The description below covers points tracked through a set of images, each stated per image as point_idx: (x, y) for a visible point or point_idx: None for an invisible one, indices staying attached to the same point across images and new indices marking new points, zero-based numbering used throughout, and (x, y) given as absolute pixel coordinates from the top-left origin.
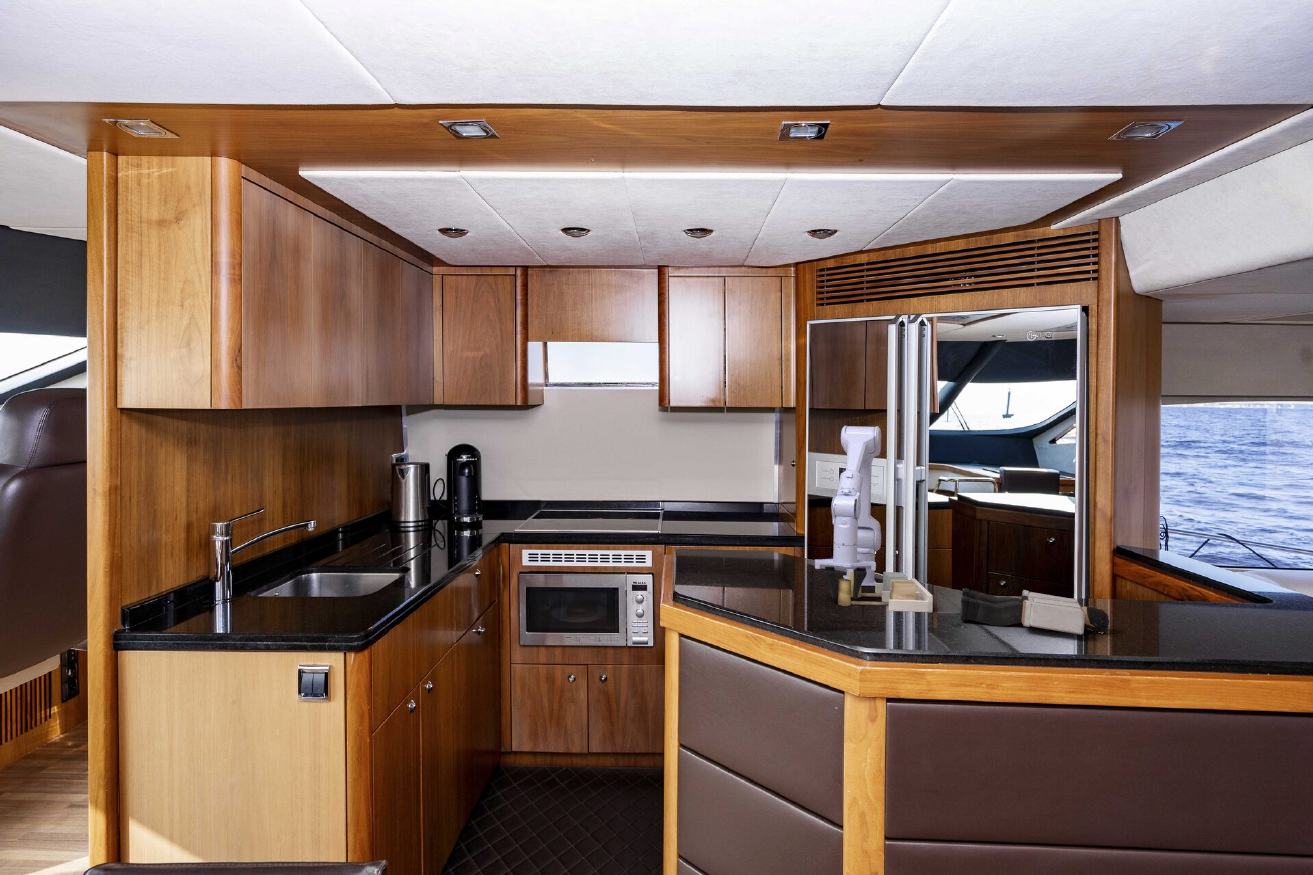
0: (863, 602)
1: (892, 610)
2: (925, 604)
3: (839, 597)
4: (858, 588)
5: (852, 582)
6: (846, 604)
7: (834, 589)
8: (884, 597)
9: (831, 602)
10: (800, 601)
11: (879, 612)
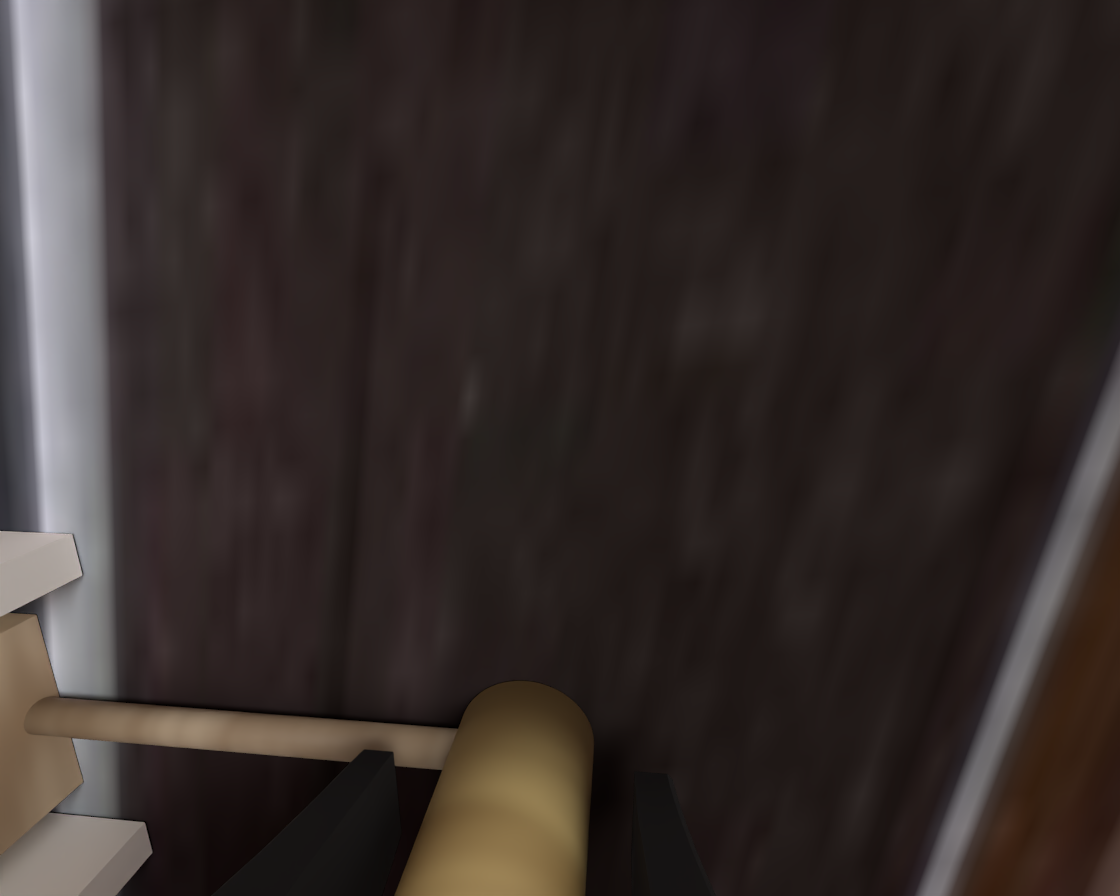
0: (311, 732)
1: (39, 533)
2: None
3: (579, 785)
4: (257, 872)
5: None
6: (507, 690)
7: (666, 883)
8: (89, 860)
9: None
10: (1031, 822)
11: (172, 462)
